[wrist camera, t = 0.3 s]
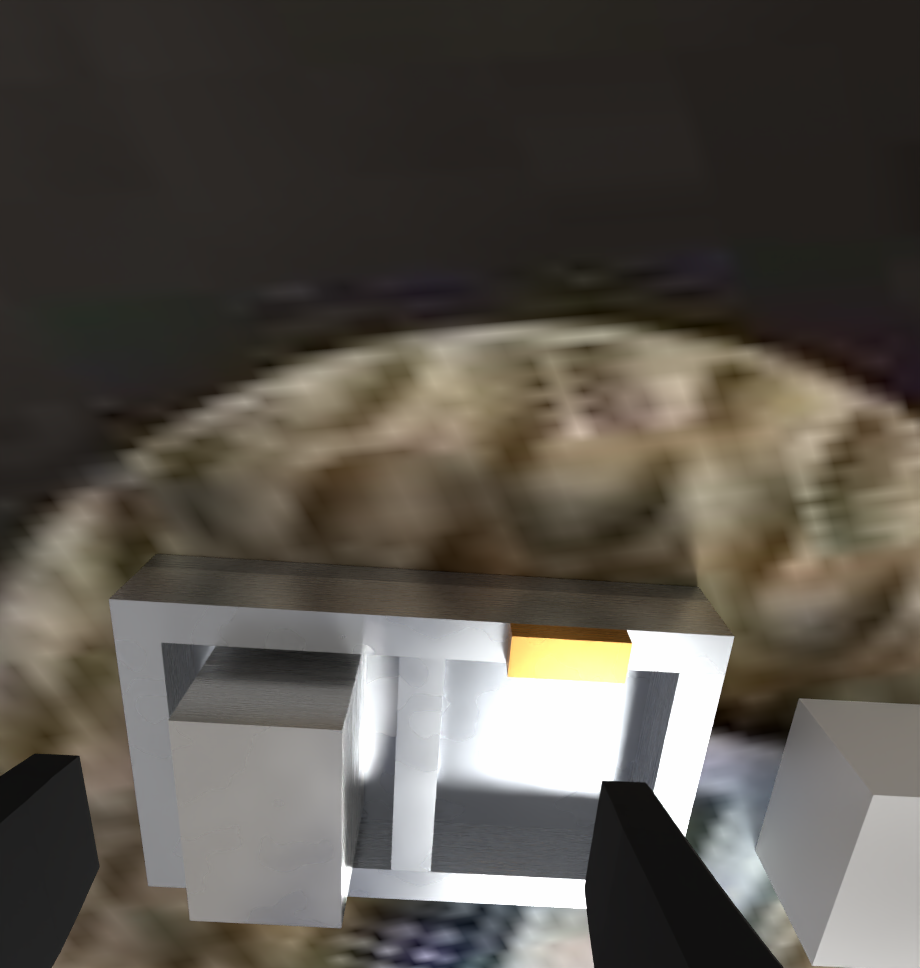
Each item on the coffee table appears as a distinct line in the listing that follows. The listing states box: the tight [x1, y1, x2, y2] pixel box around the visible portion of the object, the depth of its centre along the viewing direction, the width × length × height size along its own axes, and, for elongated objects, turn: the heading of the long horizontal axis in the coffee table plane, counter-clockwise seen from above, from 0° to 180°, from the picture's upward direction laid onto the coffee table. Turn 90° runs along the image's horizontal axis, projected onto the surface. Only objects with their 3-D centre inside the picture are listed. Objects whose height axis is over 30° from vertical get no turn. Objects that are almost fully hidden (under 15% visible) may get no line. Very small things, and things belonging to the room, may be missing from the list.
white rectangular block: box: [755, 698, 920, 968], centre depth 19 cm, size 6×4×4 cm, turn 177°
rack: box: [109, 554, 734, 928], centre depth 18 cm, size 10×16×5 cm, turn 86°
